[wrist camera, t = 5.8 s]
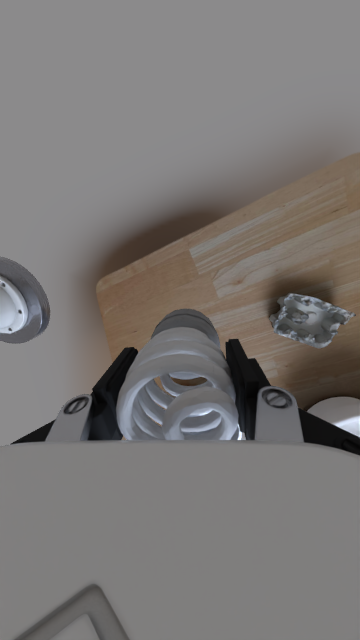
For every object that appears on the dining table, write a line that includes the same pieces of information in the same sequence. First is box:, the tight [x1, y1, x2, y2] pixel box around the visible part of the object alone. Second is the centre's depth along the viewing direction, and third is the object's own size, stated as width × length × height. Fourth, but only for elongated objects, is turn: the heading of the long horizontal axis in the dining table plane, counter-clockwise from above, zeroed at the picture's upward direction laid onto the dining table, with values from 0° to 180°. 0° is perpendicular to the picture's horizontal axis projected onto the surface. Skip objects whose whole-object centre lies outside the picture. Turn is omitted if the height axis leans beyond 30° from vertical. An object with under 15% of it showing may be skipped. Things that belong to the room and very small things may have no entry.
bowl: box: [307, 397, 360, 437], centre depth 34 cm, size 21×21×8 cm
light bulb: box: [116, 309, 239, 440], centre depth 12 cm, size 6×6×12 cm
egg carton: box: [269, 293, 356, 348], centre depth 30 cm, size 11×8×4 cm
